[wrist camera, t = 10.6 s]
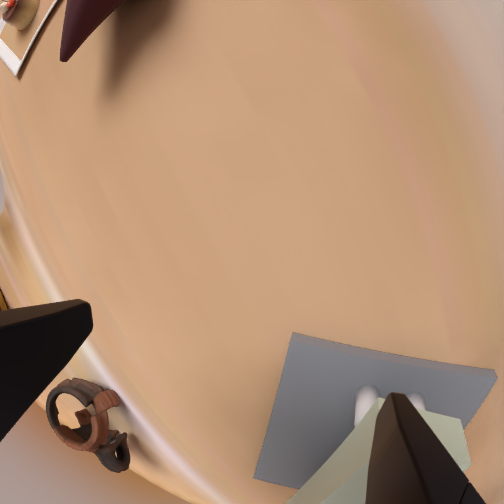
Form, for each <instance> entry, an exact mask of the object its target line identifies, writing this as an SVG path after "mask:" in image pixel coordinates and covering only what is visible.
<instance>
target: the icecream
mask: <svg viewBox="0 0 504 504" xmlns="http://www.w3.org/2000/svg"><path fill="white" fill-rule="evenodd" d="M123 1H124V0H67V5H66V11H65V18H64V25H63V32H62V40H61V49H60V61H62V62H67V61H68V60H69V59H70V57H71V56H72V55H73V54H74V53H75V52H76V50H77V49H78V48H79V47H80V46H81V44H82V43H83V42H84V41H85V40H86V39H87V38H88V36H89V35H90V34H91V33H92V32H93V31H94V30H95V29H96V28H97V27H98V26H99V25H100V24H101V23H102V22H103V21H104V20H105V19H106V18H107V17H108V16H109V15H110V14H111V13H112V12H113V11H114V10H115V9H116V8H117V7H118V6H119V5H120V4H121V3H122V2H123Z"/></svg>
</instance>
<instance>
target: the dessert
mask: <svg viewBox="0 0 504 504" xmlns="http://www.w3.org/2000/svg"><path fill="white" fill-rule="evenodd" d="M2 1H4V0H2ZM57 1H58V0H55V1H54V3H53V4H52V6H51V7H50V9H49V11H48V12H47V14H46V15H45V17H44V19H43V21H42V22H41V24H40V26H39V27H38V29H37V31H36V33H35V35H34V37H33V38H32V40H31V42H30V44H29V46H28V48H27V50H26V52H25V54H24V56H23V58H22V60H21V61H20V60H19V59H18V58H17V57H16V55H15V54H14V53H13V52H12V51H11V50H10V49H9V48H8V47H7V45H6V44H5V43H4V42H3V41H2V40H1V39H0V58H1V59H2V60H3V62H4V63H5V64H6V66H7V67H8V68H9V69H10V71H11V72H12V73H13V74H14V76H15V77H16V76H17V74H18V72H19V70H20V68H21V66H22V64H23V62H24V60H25V58H26V56H27V54H28V52H29V50H30V48H31V46H32V44H33V42H34V40H35V38H36V36H37V35H38V33H39V31H40V29H41V27H42V26H43V24H44V22H45V21H46V19H47V17H48V16H49V14H50V12H51V11H52V9H53V7H54V6H55V4H56V3H57ZM39 3H40V0H9V1H8V2H7V1H5V2H4V3H2V4H1V5H0V13H2V14H3V16H2V18H1V20H0V34H1V32H2V30H3V28H4V26H5V24H6V22H7V23H8V24H10V25H12V26H14V27H15V28H17V29H18V30H23V29H24V28H26V27H27V26H28V25H29V23H30V22H31V21H32V19H33V18H34V16H35V14H36V12H37V10H38V7H39Z"/></svg>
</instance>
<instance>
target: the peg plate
mask: <svg viewBox="0 0 504 504" xmlns="http://www.w3.org/2000/svg"><path fill="white" fill-rule="evenodd" d="M497 378H498V377H497V375H496V373H495V371H494V370H492V369H484V368H476V367H469V366H462V365H455V364H448V363H442V362H436V361H430V360H424V359H418V358H412V357H406V356H401V355H396V354H390V353H385V352H380V351H375V350H370V349H365V348H360V347H355V346H350V345H346V344H341V343H337V342H332V341H328V340H323V339H319V338H315V337H310V336H306V335H302V334H298V333H294V332H293V333H292V336H291V339H290V343H289V347H288V351H287V355H286V360H285V364H284V368H283V372H282V376H281V380H280V384H279V388H278V391H277V395H276V399H275V403H274V407H273V410H272V414H271V418H270V421H269V425H268V429H267V432H266V436H265V439H264V443H263V446H262V450H261V453H260V457H259V460H258V463H257V467H256V470H255V473H254V477H253V478H254V479H258V480H262V481H265V482H269V483H273V484H277V485H281V486H286V487H290V488H295V489H300V488H301V487H302V486H303V485H304V484H305V483H306V482H307V481H308V480H309V479H310V478H311V477H312V476H313V475H314V474H315V473H316V472H317V471H318V470H319V469H320V468H321V466H322V465H323V464H324V463H325V462H326V461H327V460H328V459H329V458H330V457H331V455H332V454H333V453H334V452H335V451H336V450H337V449H338V447H339V446H340V445H341V444H342V443H343V442H344V440H345V439H346V438H347V437H348V436H349V434H350V433H351V432H352V431H353V430H354V428H355V427H356V426H357V425H358V423H359V422H360V421H361V420H362V418H363V417H364V416H365V414H366V413H367V412H368V411H369V409H370V408H371V407H372V405H373V404H374V403H375V401H376V400H377V398H378V397H380V398H383V399H386V397H387V395H388V394H389V393H390V392H397V393H403V394H405V395H406V396H407V397H408V399H409V400H410V401H411V403H412V404H413V405H414V407H415V408H418V409H422V410H425V411H429V412H433V413H437V414H441V415H445V416H449V417H453V418H458V419H460V420H461V424H462V428H463V430H464V429H465V427H466V426H467V425H468V423H469V422H470V420H471V419H472V418H473V416H474V415H475V413H476V412H477V410H478V409H479V407H480V406H481V404H482V403H483V401H484V400H485V398H486V396H487V395H488V393H489V392H490V390H491V388H492V387H493V385H494V383H495V382H496V380H497Z"/></svg>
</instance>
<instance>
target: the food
mask: <svg viewBox="0 0 504 504" xmlns="http://www.w3.org/2000/svg"><path fill="white" fill-rule="evenodd" d="M2 310H8V309H7V306H6V304H5V301H4V298H3V296H2V293H1V291H0V311H2Z"/></svg>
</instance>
